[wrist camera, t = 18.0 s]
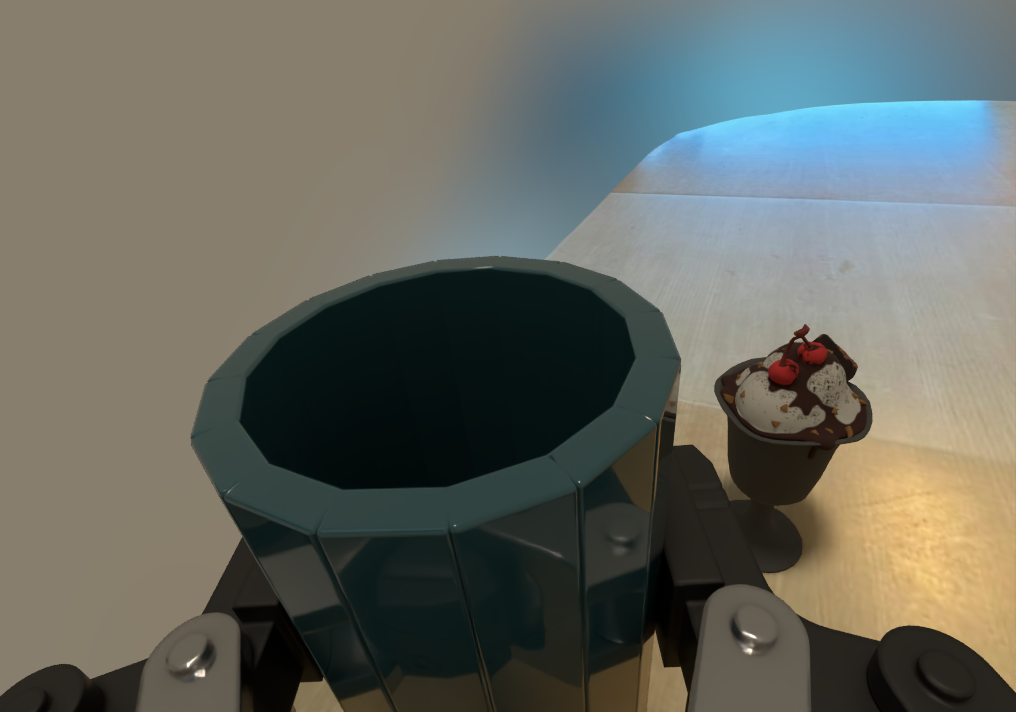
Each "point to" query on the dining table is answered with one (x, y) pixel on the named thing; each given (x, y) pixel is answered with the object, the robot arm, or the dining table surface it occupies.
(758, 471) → the sundae
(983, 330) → the dining table surface
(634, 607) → the cup
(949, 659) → the robot arm
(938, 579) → the dining table surface
